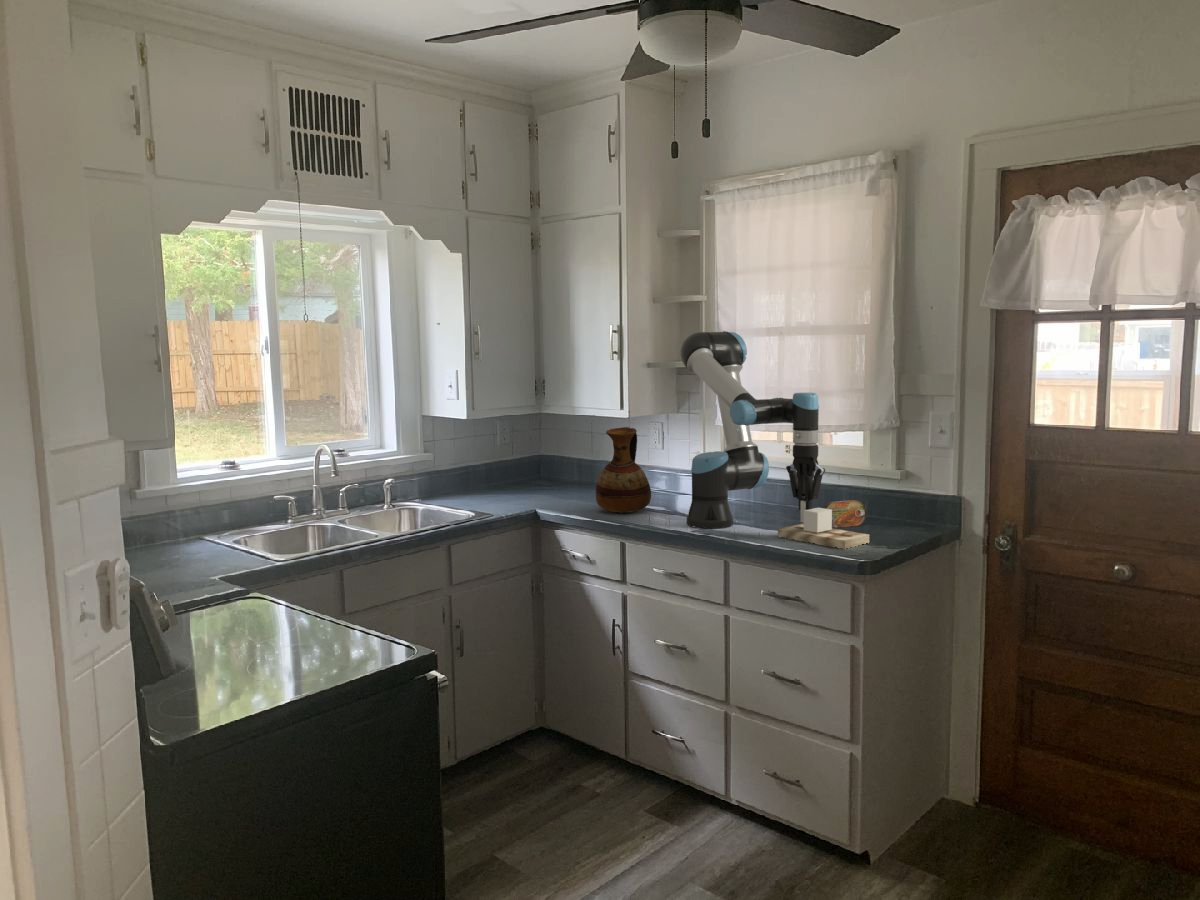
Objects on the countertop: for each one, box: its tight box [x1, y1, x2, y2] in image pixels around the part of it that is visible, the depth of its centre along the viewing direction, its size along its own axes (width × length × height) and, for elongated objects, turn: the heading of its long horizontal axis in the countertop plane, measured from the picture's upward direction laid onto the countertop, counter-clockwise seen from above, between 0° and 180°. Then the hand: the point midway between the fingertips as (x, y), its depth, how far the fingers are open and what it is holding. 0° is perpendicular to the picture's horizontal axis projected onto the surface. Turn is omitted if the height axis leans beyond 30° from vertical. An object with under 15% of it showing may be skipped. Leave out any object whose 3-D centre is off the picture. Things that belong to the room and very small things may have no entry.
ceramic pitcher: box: [595, 426, 652, 514], centre depth 328 cm, size 20×20×30 cm
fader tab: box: [803, 507, 833, 533], centre depth 276 cm, size 5×7×6 cm
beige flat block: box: [777, 523, 870, 550], centre depth 275 cm, size 24×12×3 cm, turn 40°
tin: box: [823, 499, 867, 529], centre depth 295 cm, size 15×3×8 cm, turn 106°
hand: (805, 521), depth 280 cm, fingers closed
